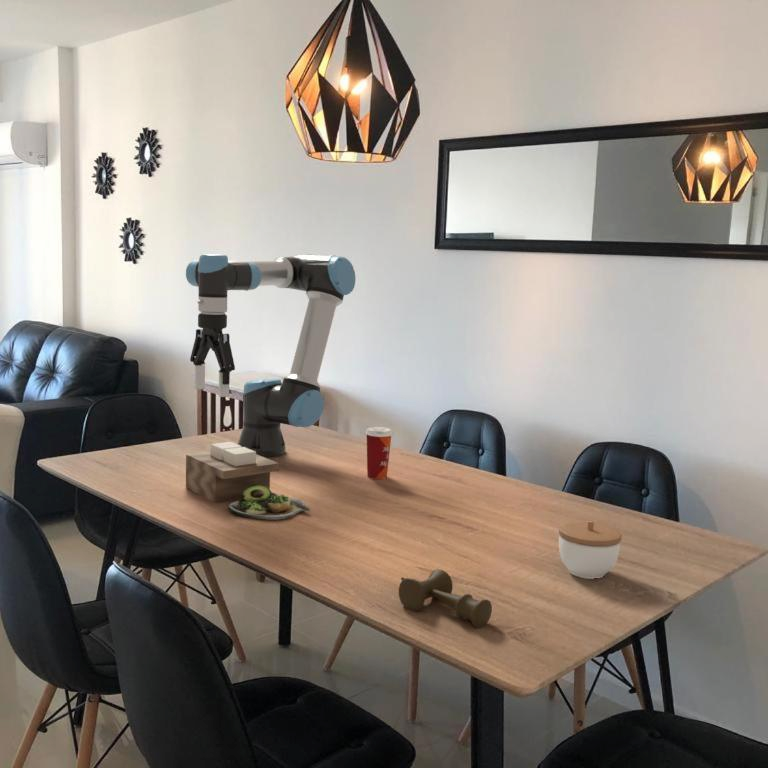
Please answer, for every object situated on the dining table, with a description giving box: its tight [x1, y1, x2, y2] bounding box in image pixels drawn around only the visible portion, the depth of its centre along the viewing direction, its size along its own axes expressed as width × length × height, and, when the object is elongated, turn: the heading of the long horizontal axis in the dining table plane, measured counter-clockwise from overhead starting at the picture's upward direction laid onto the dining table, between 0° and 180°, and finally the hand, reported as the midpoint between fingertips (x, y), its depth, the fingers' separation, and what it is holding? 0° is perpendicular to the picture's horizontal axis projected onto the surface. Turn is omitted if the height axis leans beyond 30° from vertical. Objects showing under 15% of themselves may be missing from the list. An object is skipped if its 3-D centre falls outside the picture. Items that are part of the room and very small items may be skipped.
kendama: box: [398, 568, 493, 629], centre depth 153 cm, size 6×10×20 cm
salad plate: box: [227, 485, 311, 521], centre depth 207 cm, size 19×18×5 cm
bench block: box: [185, 450, 280, 503], centre depth 220 cm, size 20×16×9 cm
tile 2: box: [224, 447, 256, 466], centre depth 216 cm, size 6×6×3 cm
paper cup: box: [365, 426, 393, 480], centre depth 241 cm, size 8×8×14 cm
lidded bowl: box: [558, 520, 623, 580], centre depth 174 cm, size 13×13×11 cm
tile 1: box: [209, 441, 242, 460], centre depth 222 cm, size 6×6×3 cm
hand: (211, 392), depth 226 cm, fingers open, 12 cm apart
